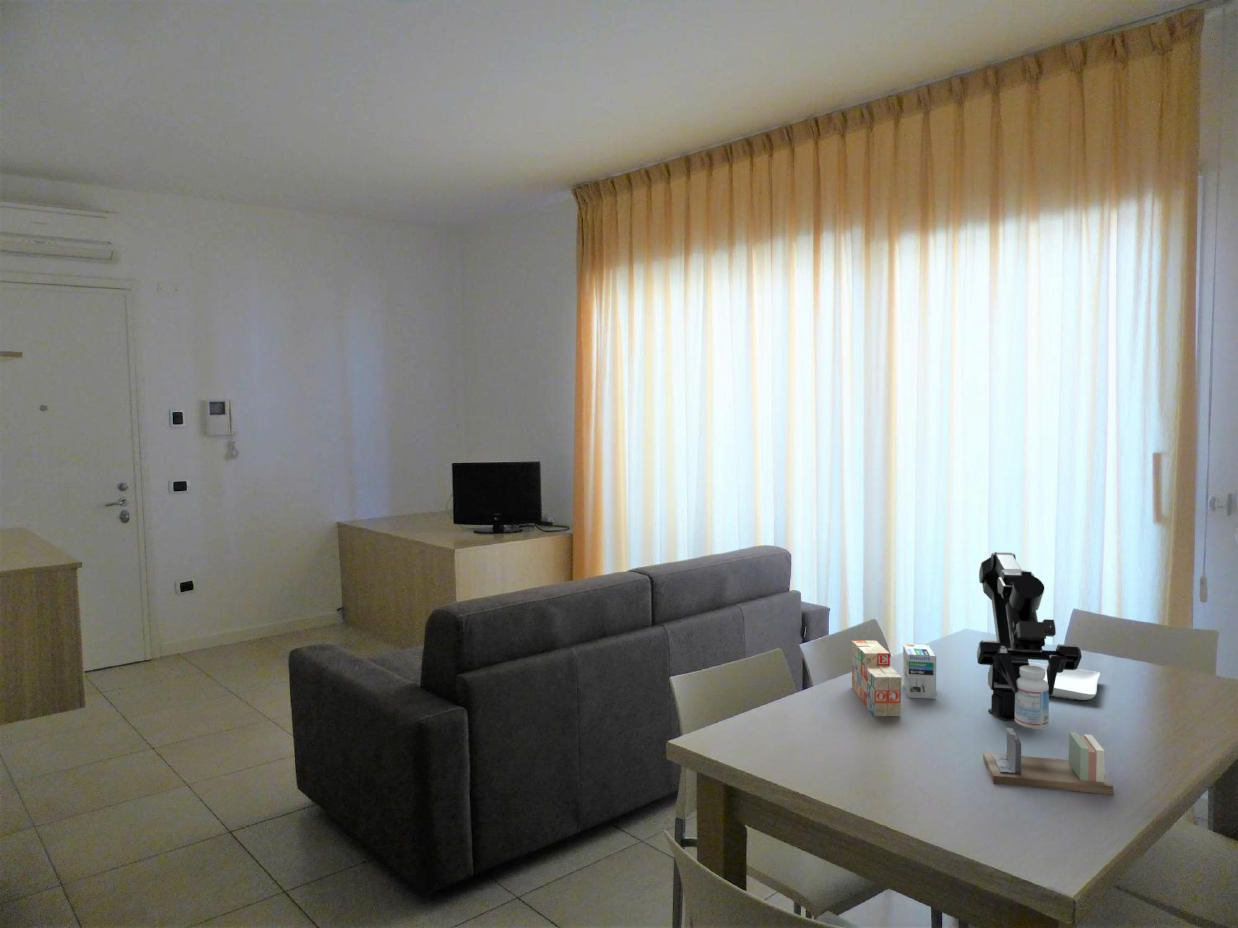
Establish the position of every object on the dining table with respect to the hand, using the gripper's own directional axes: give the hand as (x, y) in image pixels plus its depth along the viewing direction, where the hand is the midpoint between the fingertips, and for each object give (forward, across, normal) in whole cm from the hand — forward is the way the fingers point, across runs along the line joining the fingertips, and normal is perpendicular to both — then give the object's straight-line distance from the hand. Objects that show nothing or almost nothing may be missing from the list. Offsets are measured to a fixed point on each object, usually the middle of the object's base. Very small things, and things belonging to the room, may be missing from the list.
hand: (1033, 693), depth 166 cm
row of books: (+14, +8, +2) cm, 16 cm away
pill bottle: (+4, 0, +6) cm, 7 cm away
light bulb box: (-17, -18, +37) cm, 45 cm away
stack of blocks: (-10, -29, +30) cm, 43 cm away
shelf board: (+15, +1, +3) cm, 16 cm away
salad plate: (-25, +14, +46) cm, 54 cm away
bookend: (+14, -6, +2) cm, 16 cm away
